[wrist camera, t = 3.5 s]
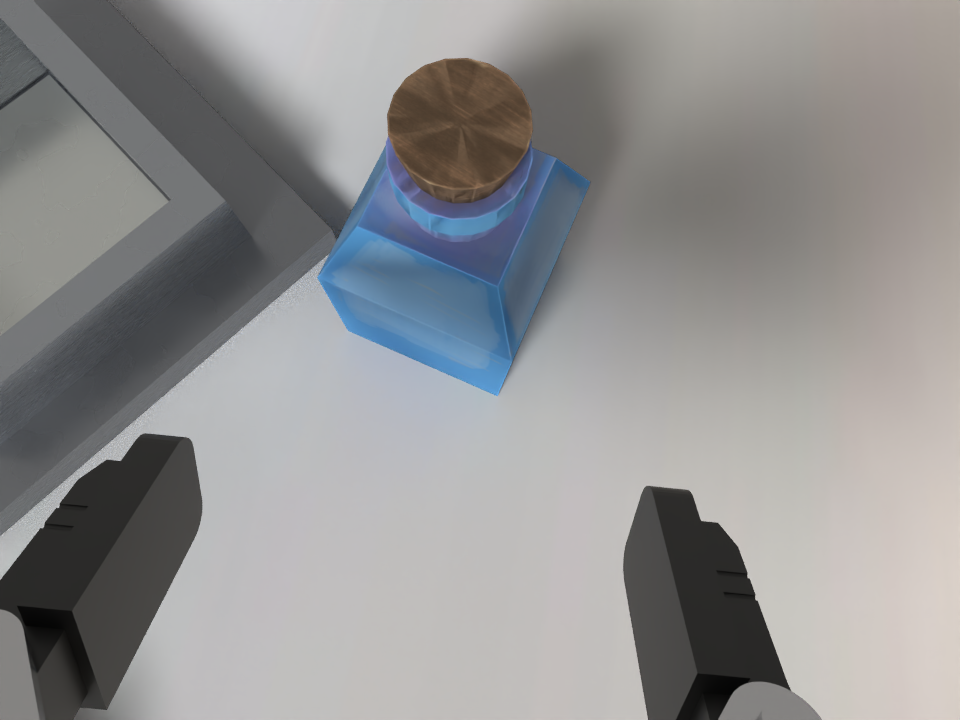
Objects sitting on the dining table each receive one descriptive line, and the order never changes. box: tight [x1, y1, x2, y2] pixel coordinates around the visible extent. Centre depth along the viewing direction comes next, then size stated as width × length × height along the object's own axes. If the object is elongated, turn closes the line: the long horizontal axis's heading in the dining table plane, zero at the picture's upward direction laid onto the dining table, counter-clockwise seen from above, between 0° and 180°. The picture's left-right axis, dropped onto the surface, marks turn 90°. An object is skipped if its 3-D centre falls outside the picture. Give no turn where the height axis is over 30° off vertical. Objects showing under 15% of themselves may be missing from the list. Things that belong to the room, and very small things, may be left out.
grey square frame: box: [0, 0, 337, 535], centre depth 24 cm, size 16×15×4 cm
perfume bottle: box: [317, 58, 590, 396], centre depth 21 cm, size 6×6×12 cm
